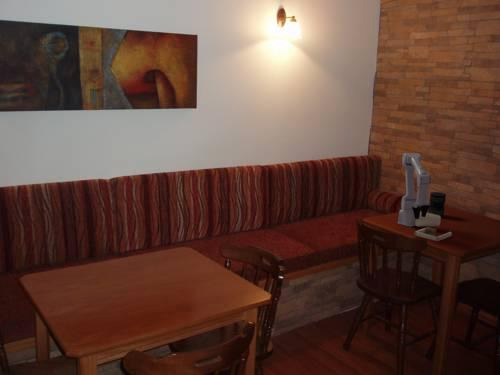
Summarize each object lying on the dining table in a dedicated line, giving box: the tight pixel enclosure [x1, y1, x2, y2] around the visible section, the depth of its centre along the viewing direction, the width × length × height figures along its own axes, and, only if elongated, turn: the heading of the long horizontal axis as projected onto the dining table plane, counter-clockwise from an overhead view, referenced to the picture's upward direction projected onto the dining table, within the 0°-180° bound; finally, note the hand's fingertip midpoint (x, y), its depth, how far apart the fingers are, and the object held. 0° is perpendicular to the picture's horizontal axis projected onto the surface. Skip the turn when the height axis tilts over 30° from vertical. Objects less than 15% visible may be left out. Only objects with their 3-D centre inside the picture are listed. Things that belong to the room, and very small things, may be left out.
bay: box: [413, 226, 453, 242], centre depth 294 cm, size 14×16×2 cm
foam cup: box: [415, 212, 442, 228], centre depth 307 cm, size 10×9×13 cm
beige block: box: [424, 226, 437, 237], centre depth 292 cm, size 4×4×4 cm
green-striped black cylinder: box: [427, 191, 447, 218], centre depth 336 cm, size 10×10×15 cm
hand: (420, 217), depth 296 cm, fingers open, 7 cm apart
